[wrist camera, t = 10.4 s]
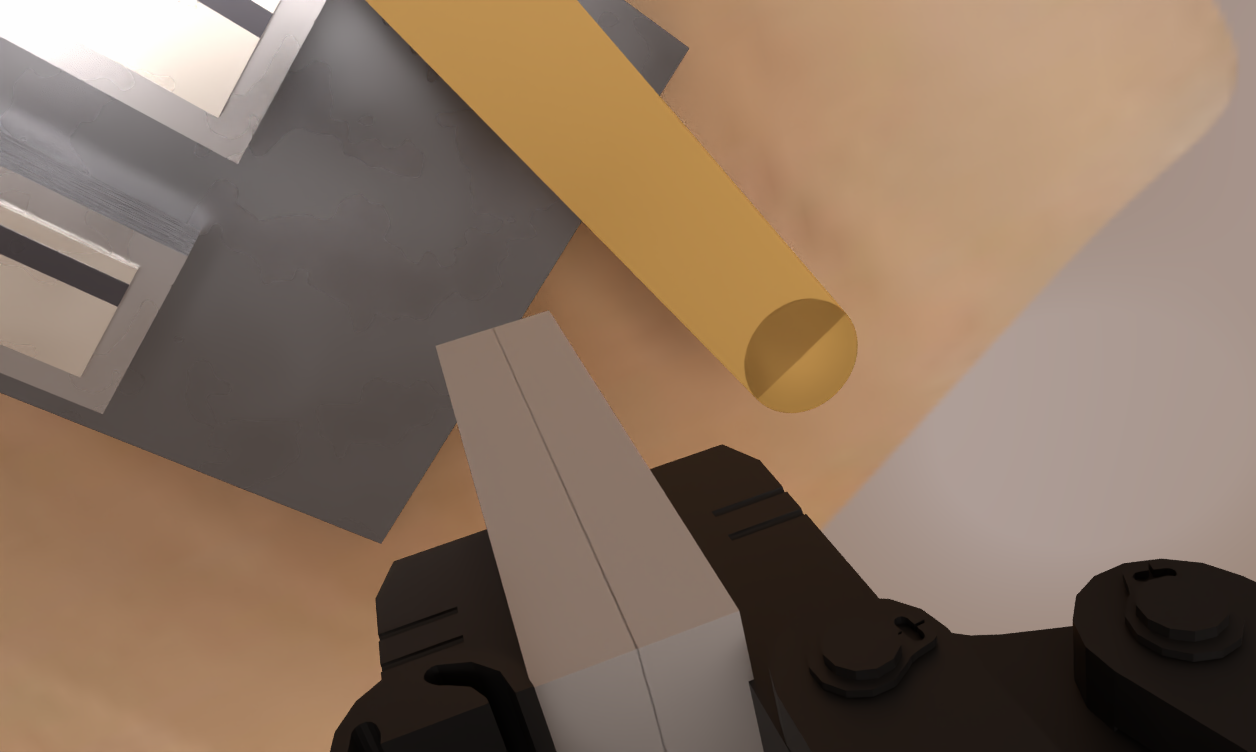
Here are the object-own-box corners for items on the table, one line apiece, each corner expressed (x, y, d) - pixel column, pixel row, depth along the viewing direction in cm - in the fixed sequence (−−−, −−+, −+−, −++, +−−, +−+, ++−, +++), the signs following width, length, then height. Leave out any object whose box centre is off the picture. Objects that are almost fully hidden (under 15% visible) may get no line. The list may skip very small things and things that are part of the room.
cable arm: (199, -151, 22) (158, -185, 17) (311, -273, 22) (304, -345, 16) (707, 362, 30) (783, 443, 25) (793, 278, 30) (888, 343, 25)
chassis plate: (-530, 159, 22) (-687, 195, 18) (-223, -662, 18) (-346, -799, 15) (380, 526, 31) (385, 595, 28) (691, 23, 28) (740, 31, 24)
